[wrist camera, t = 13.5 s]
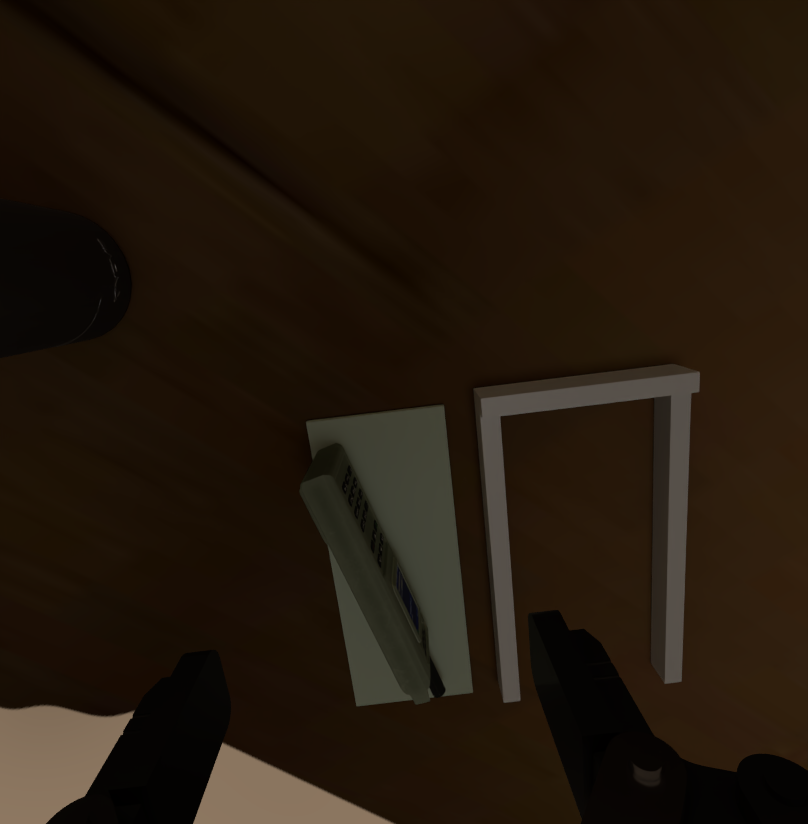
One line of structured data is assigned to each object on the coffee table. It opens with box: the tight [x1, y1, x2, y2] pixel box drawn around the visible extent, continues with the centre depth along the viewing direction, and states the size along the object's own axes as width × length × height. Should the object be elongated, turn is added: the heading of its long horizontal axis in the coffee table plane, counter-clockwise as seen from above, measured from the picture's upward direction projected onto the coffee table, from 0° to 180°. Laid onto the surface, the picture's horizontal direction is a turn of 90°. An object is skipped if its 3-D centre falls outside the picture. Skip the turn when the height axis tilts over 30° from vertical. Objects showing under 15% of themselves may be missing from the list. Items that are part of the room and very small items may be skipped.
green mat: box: [306, 404, 473, 706], centre depth 44 cm, size 11×28×1 cm, turn 7°
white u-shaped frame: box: [473, 364, 700, 703], centre depth 42 cm, size 16×28×4 cm, turn 7°
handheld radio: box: [299, 443, 446, 704], centre depth 40 cm, size 7×3×25 cm
